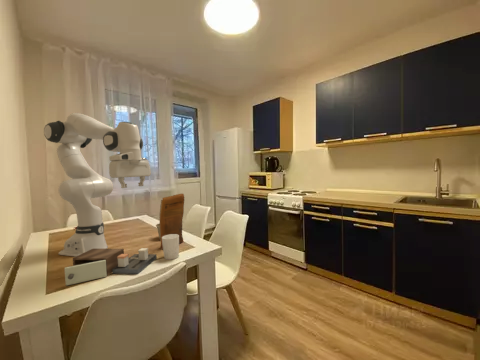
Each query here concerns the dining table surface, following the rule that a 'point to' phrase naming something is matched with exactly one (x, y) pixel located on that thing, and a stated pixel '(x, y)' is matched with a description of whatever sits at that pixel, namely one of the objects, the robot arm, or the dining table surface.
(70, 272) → the door
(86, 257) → the wooden box
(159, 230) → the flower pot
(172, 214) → the pancake mix bag
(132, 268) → the console
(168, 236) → the white cup
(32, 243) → the dining table surface
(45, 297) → the dining table surface
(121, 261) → the block
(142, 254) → the block
